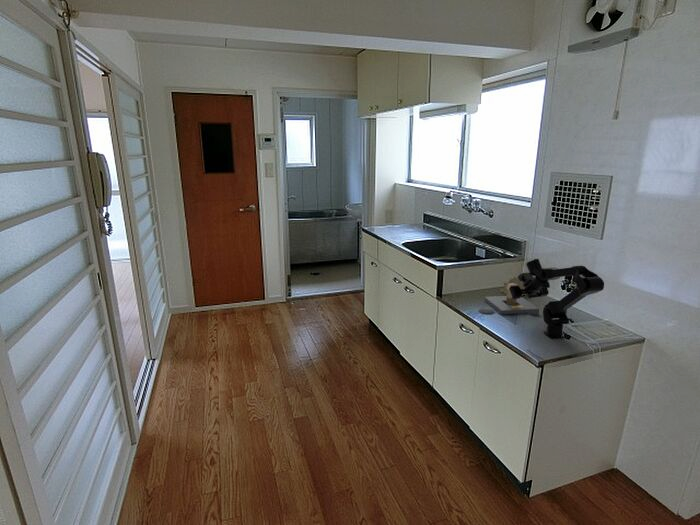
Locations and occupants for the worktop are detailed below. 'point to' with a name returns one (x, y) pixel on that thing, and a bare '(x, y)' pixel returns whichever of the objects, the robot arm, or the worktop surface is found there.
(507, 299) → the beech peg
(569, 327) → the worktop surface
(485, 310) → the pad
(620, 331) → the worktop surface
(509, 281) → the ceramic model
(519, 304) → the hole plate
